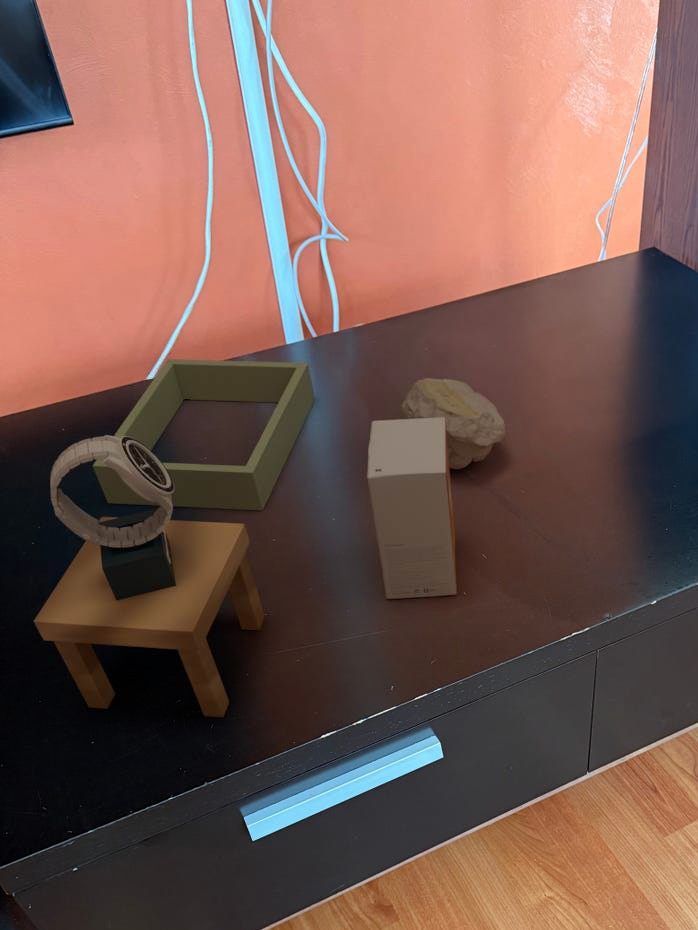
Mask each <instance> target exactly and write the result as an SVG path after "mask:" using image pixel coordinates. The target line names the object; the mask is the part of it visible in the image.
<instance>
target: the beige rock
mask: <svg viewBox="0 0 698 930" xmlns="http://www.w3.org/2000/svg"><path fill="white" fill-rule="evenodd" d="M400 407H401V408H400V419H420V418H439V417H445V418H446V428H447V445H448V457H449V469H452V470H462V469H464V468H466V467H468V465H469V464H470V463H472V461H473V462H475V463H476V462H479V461H483V460H484V458H486V457H487V456H488V455H489V454H490V452H491V451H492V447H493V445H494V444H498V443H501V442H503V440H504V438H505V436H506V424H505V420H504V418H503V417H502V416H501V414H499V411H498V409H497V406H495V404H494V403H493V402H491V401H490V399H488V398H486V397H485V396H483V394H481V393H479V392H475V391H474V389H472V388H471V386H470V385H468V384H467V383H465V382H463V381H459V380H457V379H449V378H441V379H439V378H438V379H437V378H432V377H425V378H424V379H419V380H417V381H416V382H415V383H413V385H412V387H411V388H410V389H409V391H408V392H407V394H406V396H405V400H404V401H403V402H402V404H401V406H400Z"/></svg>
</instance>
